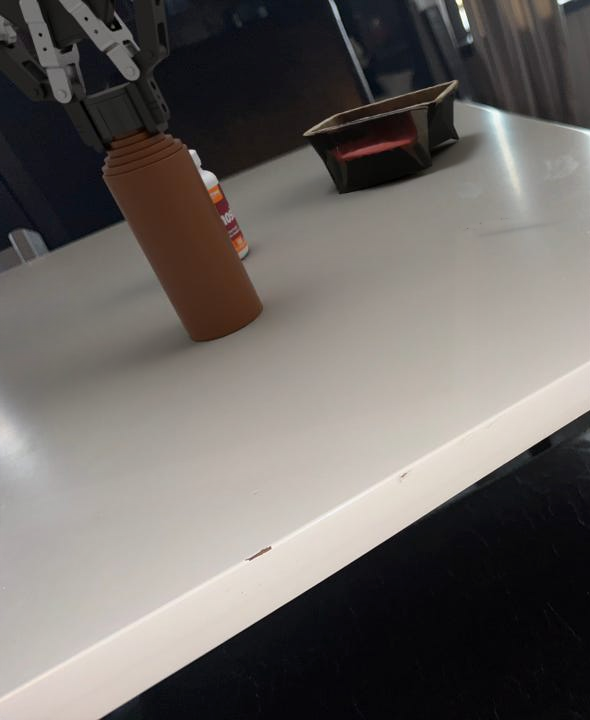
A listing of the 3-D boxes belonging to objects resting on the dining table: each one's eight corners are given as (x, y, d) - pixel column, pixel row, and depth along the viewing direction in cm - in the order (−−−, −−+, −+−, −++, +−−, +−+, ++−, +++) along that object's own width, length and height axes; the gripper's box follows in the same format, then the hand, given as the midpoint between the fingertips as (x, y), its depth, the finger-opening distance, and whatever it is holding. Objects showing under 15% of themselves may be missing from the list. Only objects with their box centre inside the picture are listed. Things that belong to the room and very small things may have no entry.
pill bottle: (242, 265, 76) (191, 158, 70) (184, 282, 76) (129, 177, 71) (256, 242, 81) (209, 141, 76) (202, 258, 82) (152, 159, 76)
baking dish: (373, 171, 101) (332, 101, 96) (492, 122, 93) (455, 43, 88) (331, 223, 90) (284, 147, 85) (463, 173, 82) (418, 86, 77)
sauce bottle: (179, 349, 62) (54, 122, 53) (201, 314, 67) (90, 104, 58) (254, 327, 61) (140, 95, 52) (269, 294, 66) (168, 78, 58)
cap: (161, 115, 58) (143, 77, 56) (143, 127, 54) (123, 87, 53) (114, 130, 58) (95, 93, 57) (93, 143, 55) (72, 104, 53)
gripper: (-142, -90, 46) (23, 183, 54) (72, -171, 44) (208, 123, 52) (-67, -88, 52) (70, 155, 60) (122, -159, 51) (236, 101, 59)
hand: (133, 139), depth 56 cm, fingers closed on cap, 3 cm apart
